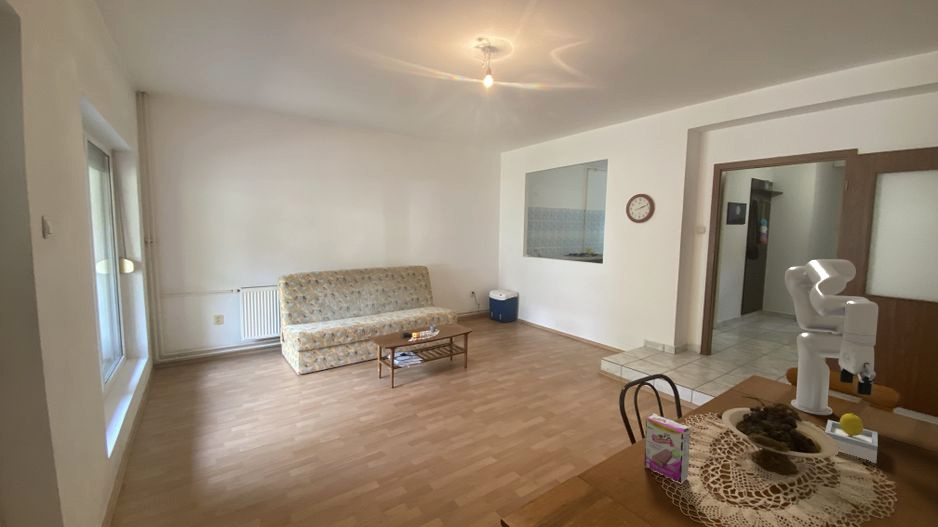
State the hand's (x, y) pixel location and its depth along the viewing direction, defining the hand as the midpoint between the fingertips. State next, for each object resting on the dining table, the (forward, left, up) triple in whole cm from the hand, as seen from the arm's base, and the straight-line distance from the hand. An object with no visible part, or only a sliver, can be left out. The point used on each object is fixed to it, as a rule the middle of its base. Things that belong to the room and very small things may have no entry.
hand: (854, 388), depth 126 cm
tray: (+1, -1, -21) cm, 21 cm away
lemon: (+1, -1, -17) cm, 17 cm away
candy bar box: (+36, -61, -21) cm, 73 cm away
